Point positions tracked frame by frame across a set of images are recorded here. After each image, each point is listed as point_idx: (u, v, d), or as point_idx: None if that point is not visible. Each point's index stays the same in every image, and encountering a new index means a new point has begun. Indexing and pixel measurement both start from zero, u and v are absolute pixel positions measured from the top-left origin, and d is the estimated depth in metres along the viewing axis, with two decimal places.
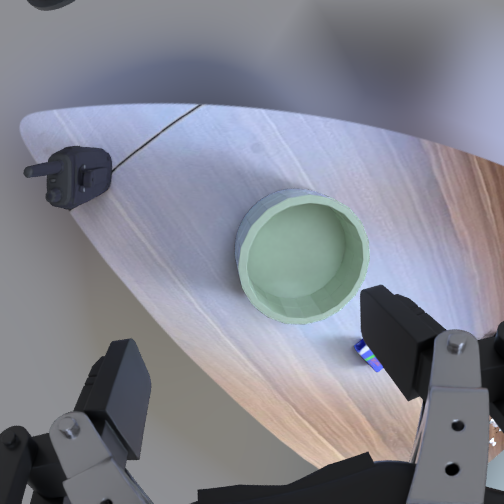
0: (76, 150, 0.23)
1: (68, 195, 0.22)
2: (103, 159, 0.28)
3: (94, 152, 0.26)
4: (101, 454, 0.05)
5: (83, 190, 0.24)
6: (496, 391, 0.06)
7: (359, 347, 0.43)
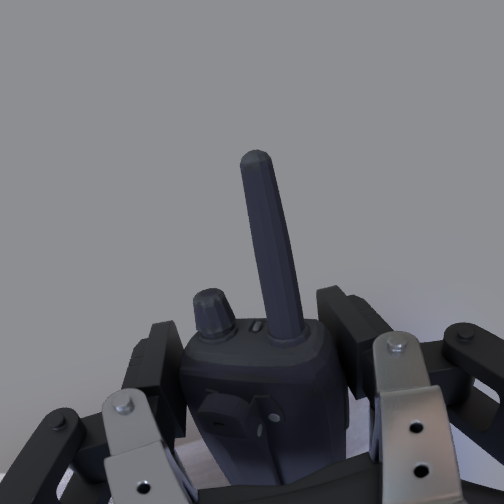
0: (331, 398, 0.08)
1: (201, 355, 0.09)
2: None
3: None
4: (151, 435, 0.06)
5: None
6: (444, 395, 0.07)
7: None
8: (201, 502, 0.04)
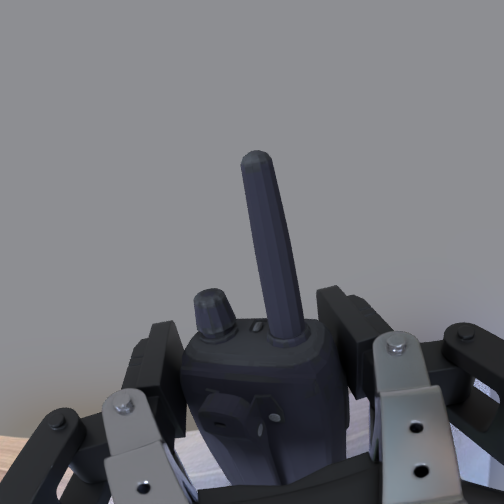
0: (332, 398, 0.08)
1: (201, 355, 0.09)
2: None
3: None
4: (151, 435, 0.06)
5: None
6: (444, 395, 0.07)
7: None
8: (201, 502, 0.04)
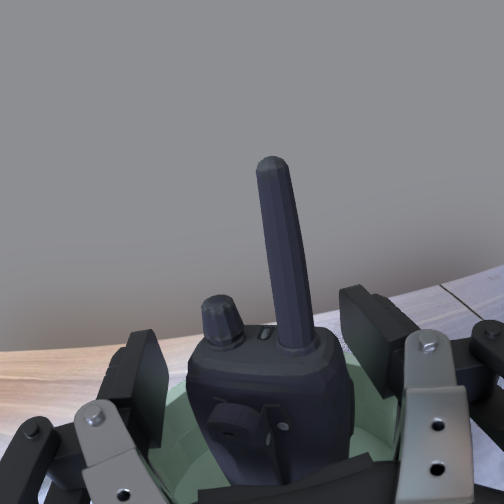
0: (340, 407, 0.08)
1: (209, 363, 0.09)
2: None
3: None
4: (124, 444, 0.05)
5: None
6: (471, 392, 0.06)
7: None
8: None
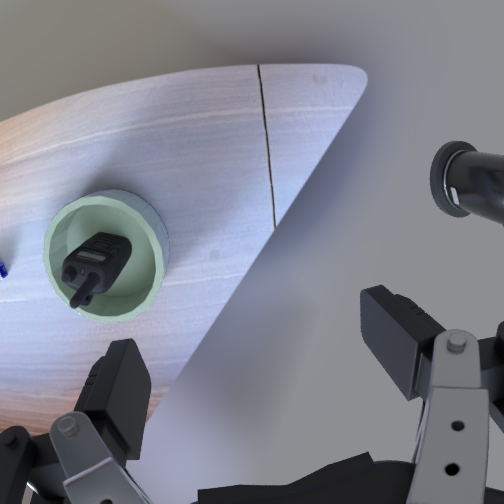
0: (110, 286, 0.27)
1: (69, 283, 0.25)
2: None
3: None
4: (101, 454, 0.05)
5: None
6: (496, 391, 0.06)
7: (0, 267, 0.34)
8: None
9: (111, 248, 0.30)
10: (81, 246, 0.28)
